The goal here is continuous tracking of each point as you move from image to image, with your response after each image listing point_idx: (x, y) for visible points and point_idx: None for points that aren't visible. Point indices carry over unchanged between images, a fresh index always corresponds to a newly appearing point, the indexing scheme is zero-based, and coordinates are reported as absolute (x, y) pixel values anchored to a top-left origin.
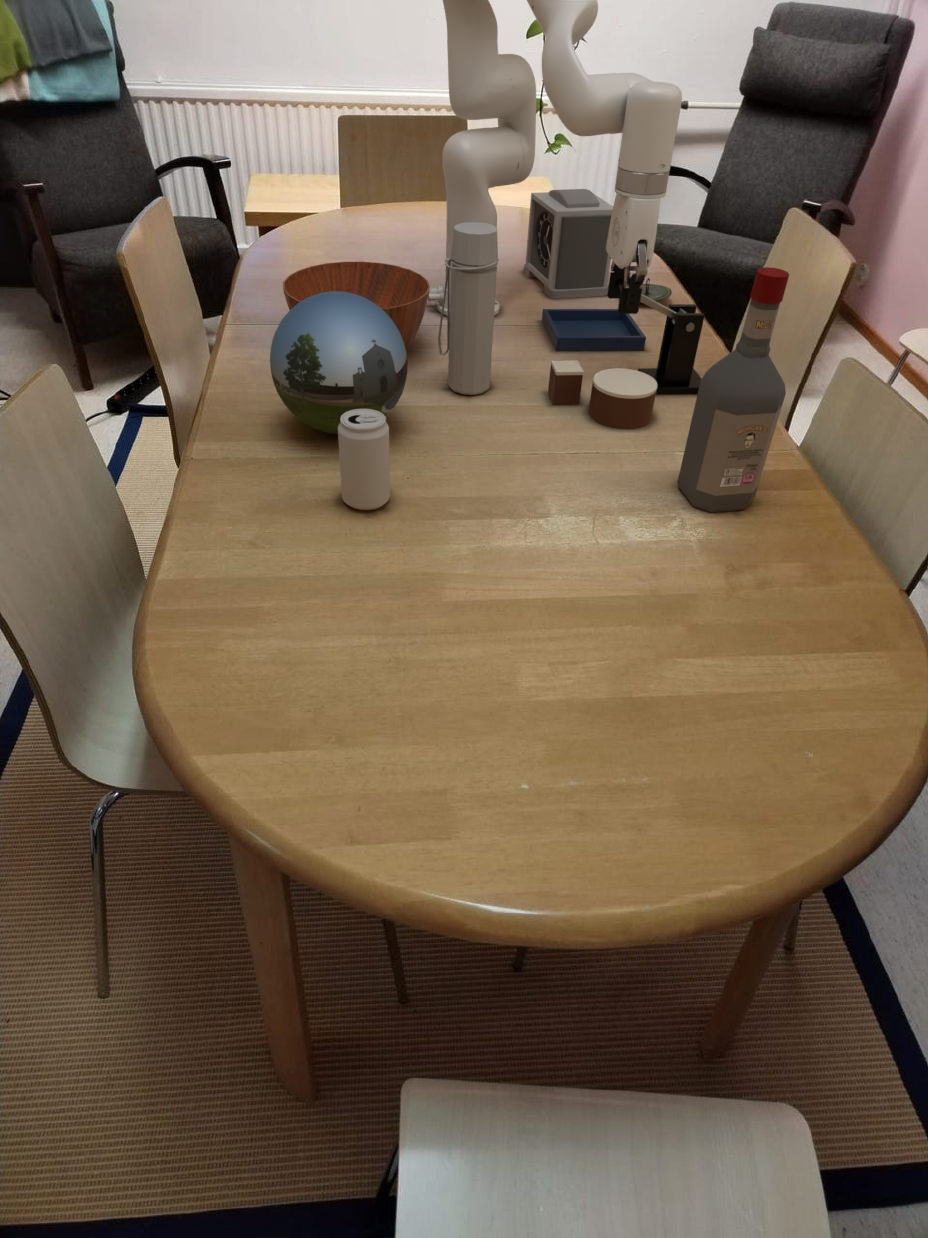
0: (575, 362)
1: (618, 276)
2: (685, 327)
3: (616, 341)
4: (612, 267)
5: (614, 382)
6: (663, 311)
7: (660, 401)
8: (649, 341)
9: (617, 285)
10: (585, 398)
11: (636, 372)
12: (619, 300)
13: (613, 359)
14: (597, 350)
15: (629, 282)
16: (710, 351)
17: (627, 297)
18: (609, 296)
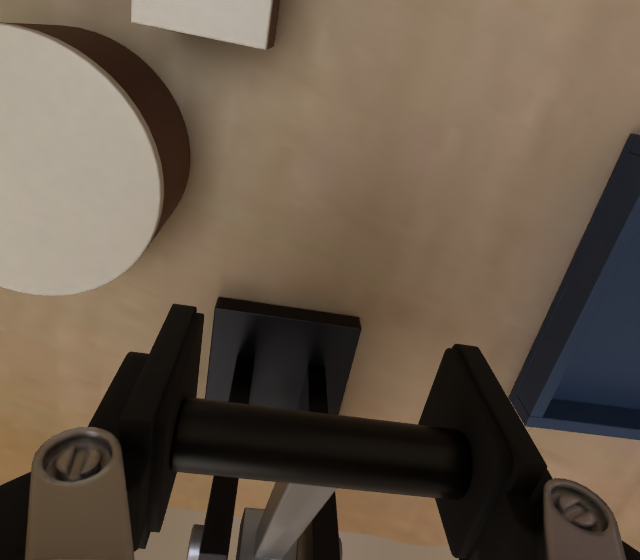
0: (242, 26)
1: (477, 487)
2: (197, 530)
3: (555, 341)
4: (584, 509)
5: (5, 123)
6: (262, 519)
7: (170, 307)
8: (556, 432)
9: (416, 431)
10: (219, 74)
11: (113, 256)
12: (172, 345)
13: (485, 296)
14: (565, 275)
15: (28, 500)
16: (439, 527)
17: (104, 401)
18: (448, 351)
